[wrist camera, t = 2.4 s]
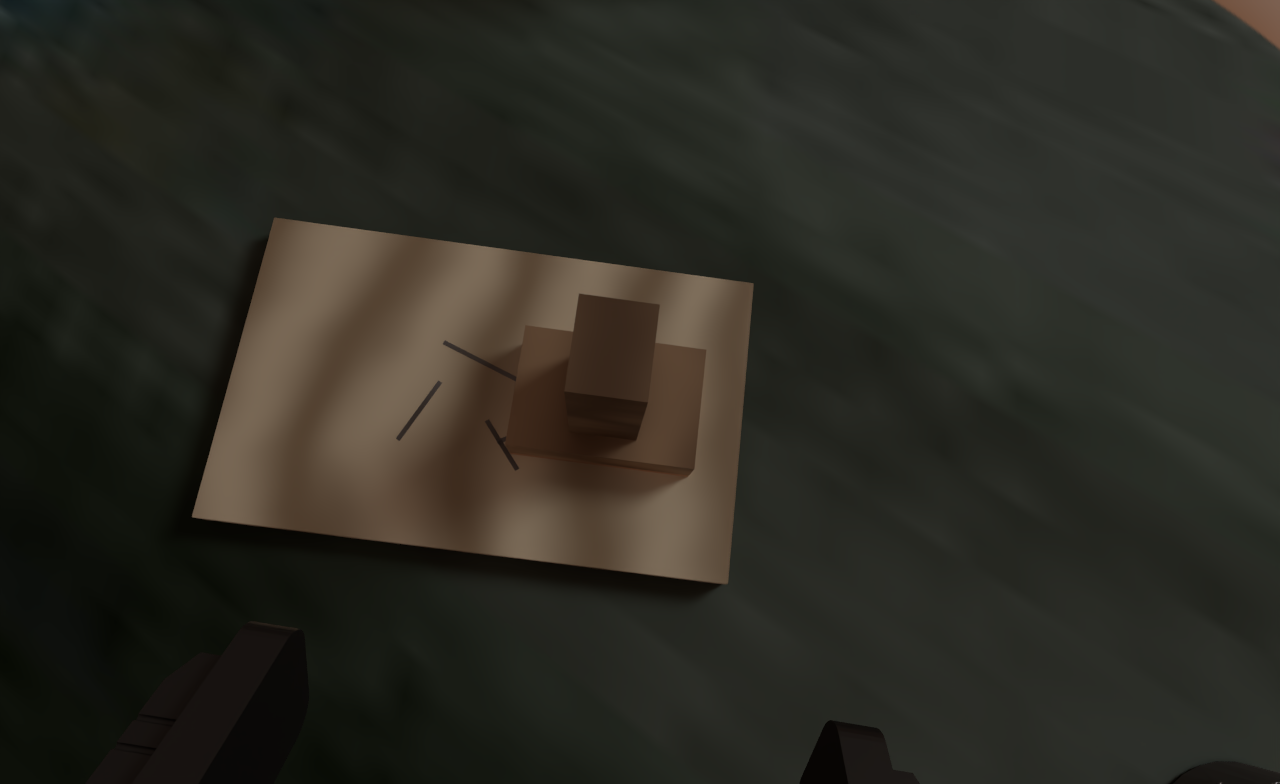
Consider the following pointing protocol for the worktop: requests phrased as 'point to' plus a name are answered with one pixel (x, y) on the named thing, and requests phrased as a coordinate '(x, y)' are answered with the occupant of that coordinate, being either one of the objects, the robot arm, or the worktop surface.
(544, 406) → the block
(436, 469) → the birch board
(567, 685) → the worktop surface
